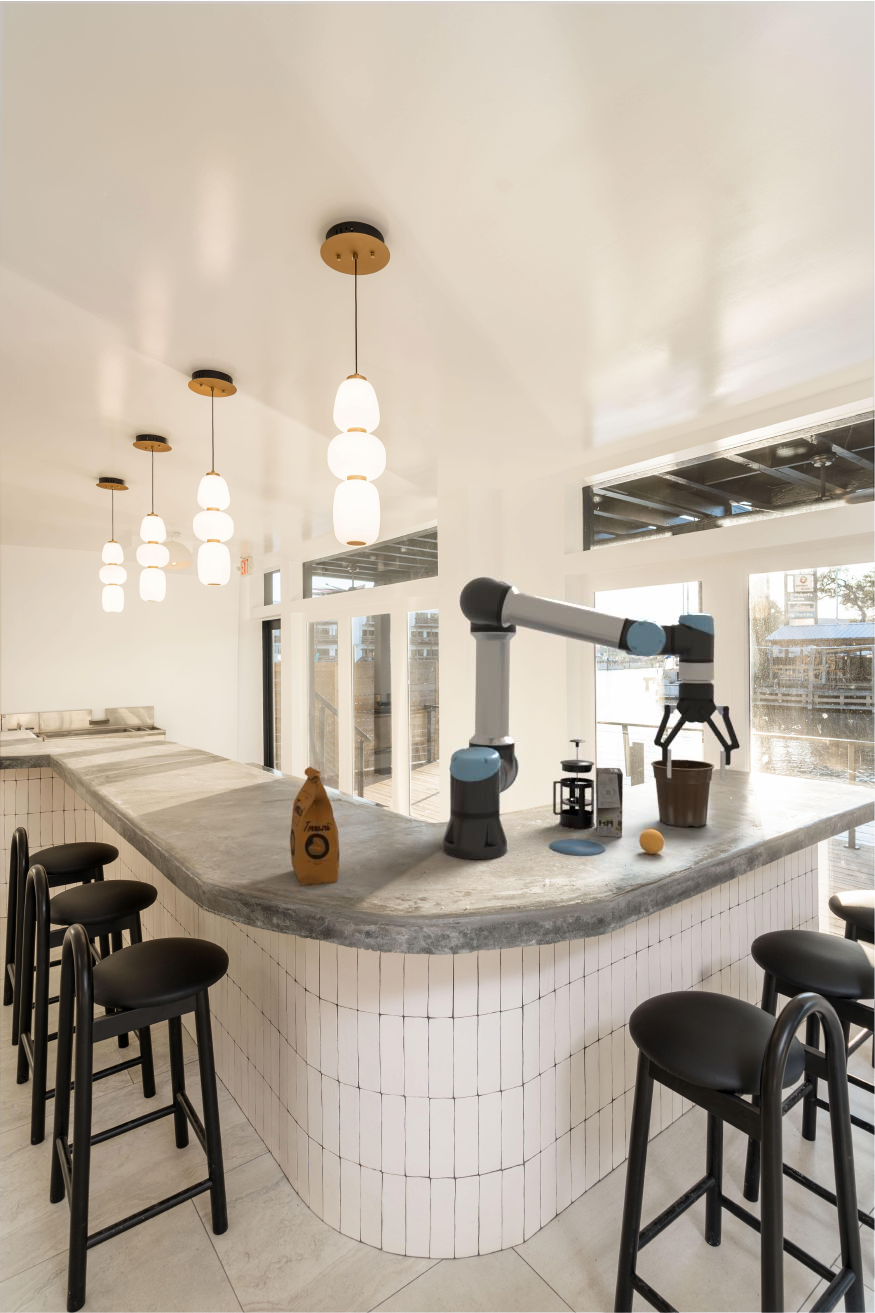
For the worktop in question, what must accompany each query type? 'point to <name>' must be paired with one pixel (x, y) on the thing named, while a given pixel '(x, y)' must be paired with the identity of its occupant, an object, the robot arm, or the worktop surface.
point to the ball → (651, 841)
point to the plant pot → (683, 792)
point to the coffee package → (314, 834)
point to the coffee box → (609, 801)
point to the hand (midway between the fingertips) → (695, 778)
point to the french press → (575, 794)
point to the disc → (577, 847)
